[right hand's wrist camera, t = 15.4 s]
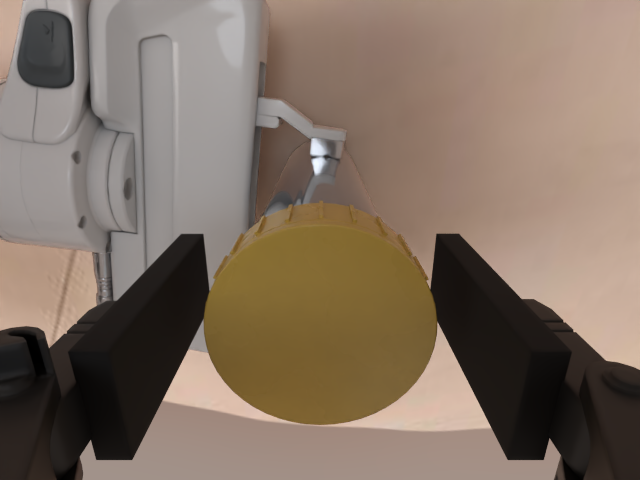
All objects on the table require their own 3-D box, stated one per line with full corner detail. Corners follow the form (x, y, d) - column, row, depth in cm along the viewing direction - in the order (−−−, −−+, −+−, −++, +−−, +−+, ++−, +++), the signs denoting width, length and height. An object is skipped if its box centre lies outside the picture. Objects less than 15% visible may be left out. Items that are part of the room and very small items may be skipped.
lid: (426, 371, 13) (443, 416, 11) (240, 390, 13) (227, 437, 12) (418, 186, 11) (437, 205, 9) (196, 214, 11) (173, 239, 9)
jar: (285, 210, 30) (231, 397, 12) (283, 139, 28) (216, 230, 10) (354, 211, 30) (408, 397, 12) (357, 139, 28) (425, 231, 10)
